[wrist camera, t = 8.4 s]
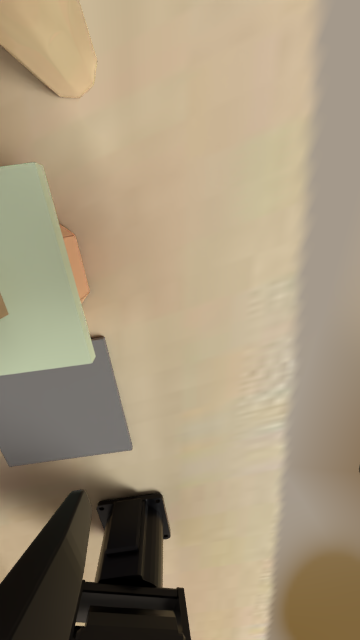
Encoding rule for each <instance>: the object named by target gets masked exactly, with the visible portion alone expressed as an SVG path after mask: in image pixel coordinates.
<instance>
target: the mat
mask: <svg viewBox="0 0 360 640" xmlns="http://www.w3.org/2000/svg"><path fill="white" fill-rule="evenodd" d="M91 341H92V345H93V348H94V352H95V356H96V357H95V359H94V361H93V363H91V364H84V365H76V366H69V367H61V368H54V369H46V370H39V371H31V372H24V373H17V374H9V375H2V376H0V450H1V452H2V454H3V456H4V457H5V459H6V461H7V463H8V465H9V467H12V466H19V465H26V464H34V463H41V462H48V461H56V460H63V459H70V458H78V457H85V456H92V455H100V454H107V453H114V452H121V451H129V450H132V443H131V439H130V435H129V431H128V427H127V423H126V419H125V415H124V411H123V408H122V404H121V400H120V396H119V392H118V388H117V384H116V380H115V376H114V373H113V369H112V365H111V361H110V357H109V353H108V349H107V345H106V341H105V337H100V338H93V339H91Z"/></svg>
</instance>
